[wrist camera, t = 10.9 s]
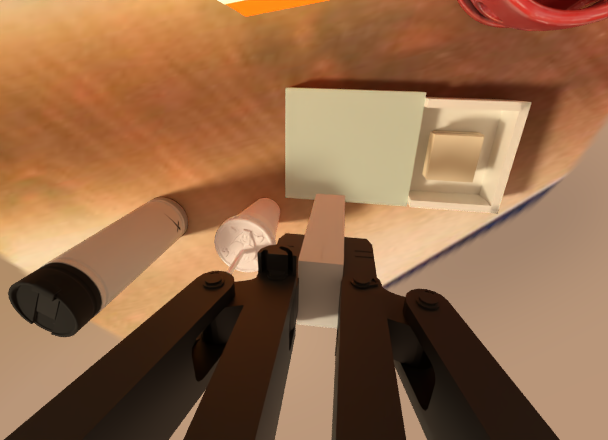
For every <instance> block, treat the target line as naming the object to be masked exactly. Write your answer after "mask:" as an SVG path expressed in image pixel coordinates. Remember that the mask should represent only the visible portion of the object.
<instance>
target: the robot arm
mask: <svg viewBox="0 0 608 440" xmlns="http://www.w3.org/2000/svg"><path fill="white" fill-rule="evenodd" d="M344 226H345V195H330V194H316V196H315V200H314V204H313V207H312V211H311V215H310V218H309V222H308V226H307V229H306V233H305V235H300V234H287V233H286V234H285V235H283V236H282V237H281V238H279V240H278V243H277V245H269V246H265V247H263V248H261V249H260V250H259V251H258V252H257V254H258V275H257V277H256V278H255V279H252V280H247V281H239V282H234V277H233V276H232V275H231V274H230V273H227V272H224V271H212V272H208V273H205V274H202V275H201V276H199V277H198V278H196V279H195V280H194V281H193V282H192V283H190V284H189V285H188V286H187V287H186V288H184V289H183V290H182V291H181V292H180V293H178V294H177V295H176V296H175V297H174V298H172V299H171V300H170V301H169V302H168V303H166V304H165V305H164V306H163V307H162V308H160V309H159V310H158V311H157V312H156V313H155V314H153V315H152V316H151V317H150V318H149V319H147V320H146V321H145V322H144V323H143V324H141V325H140V326H139V327H138V328H137V329H135V330H134V331H133V332H132V333H131V334H129V335H128V336H127V337H126V338H125V339H123V340H122V341H121V342H120V343H119V344H118V345H116V346H115V347H114V348H113V349H112V350H110V351H109V352H108V353H107V354H106V355H104V356H103V357H102V358H101V359H100V360H98V361H97V362H96V363H95V364H94V365H93V366H91V367H90V368H89V369H88V370H86V371H85V372H84V373H83V374H82V375H81V376H79V377H78V378H77V379H76V380H75V381H73V382H72V383H71V384H70V385H69V386H67V387H66V388H65V389H64V390H63V391H62V392H60V393H59V394H58V395H57V396H56V397H54V398H53V399H52V400H51V401H49V402H48V403H47V404H46V405H45V406H43V407H42V408H41V409H40V410H39V411H38V412H36V413H35V414H34V415H33V416H32V417H30V418H29V419H28V420H27V421H26V422H24V423H23V424H22V425H21V426H20V427H18V428H17V429H16V430H15V431H14V432H13V433H11V434H10V435H9V436H8V437H7V438H5V439H4V440H169V438H170V437H171V436H172V434H173V433H174V432H175V430H176V429H177V428H178V426H179V425H180V424H181V422H182V421H183V419H184V418H185V417H186V415H187V414H188V413H189V411H190V410H191V409H192V407H193V406H194V405H195V403H196V402H197V400H198V399H199V398H200V396H201V395H202V394H203V392H204V391H205V393H204V395H203V397H202V400H201V402H200V404H199V406H198V408H197V410H196V413H195V415H194V417H193V420H192V422H191V424H190V426H189V428H188V430H187V433H186V435H185V437H184V439H183V440H275V435H276V429H277V425H278V420H279V414H280V410H281V404H282V399H283V394H284V389H285V384H286V379H287V374H288V369H289V364H290V359H291V354H292V349H293V344H294V339H295V325H296V319H297V324H301V325H310V326H319V327H328V328H337V338H336V349H335V356H336V357H335V379H334V399H333V420H332V422H333V423H332V440H406V436H405V430H404V423H403V416H402V410H401V404H400V397H399V391H398V385H397V379H396V372H395V368H396V370H397V372H398V375H399V377H400V379H401V381H402V383H403V386H404V388H405V390H406V393H407V395H408V397H409V400H410V402H411V404H412V406H413V409H414V411H415V413H416V415H417V418H418V419H419V422H420V424H421V426H422V429H423V431H424V433H425V436H426V438H427V440H559V438H558V437H557V436H556V434H555V433H554V432H553V431H552V430H551V428H550V427H549V426H548V425H547V423H546V422H545V421H544V420H543V419H542V417H541V416H540V415H539V413H538V412H537V411H536V410H535V408H534V407H533V406H532V405H531V403H530V402H529V401H528V400H527V399H526V397H525V396H524V395H523V393H521V391H520V390H519V388H518V387H517V386H516V385H515V384H514V382H513V381H512V380H511V379H510V377H509V376H508V375H507V374H506V372H505V371H504V370H503V369H502V367H501V366H500V365H499V364H498V362H497V361H496V360H495V359H494V357H493V356H492V355H491V354H490V352H489V351H488V350H487V349H486V347H485V346H484V345H483V344H482V343H481V341H480V340H479V339H478V338H477V336H476V335H475V334H474V333H473V331H472V330H471V329H470V328H469V327H468V325H467V324H466V323H465V321H464V320H463V319H462V318H461V316H460V315H459V314H458V313H457V312H456V310H455V309H454V308H453V306H452V305H451V304H450V303H449V302H448V300H446V299H445V298H444V297H443V296H442V295H440V294H438V293H436V292H434V291H431V290H427V289H414V290H411V291H409V292H408V293H407V294H406V297H403V296H400V295H396V294H394V293H391V292H389V291H387V290H386V289H384V288H383V287H382V284H381V282H380V280H379V279H378V278H377V275H376V268H375V262H374V255H373V248H372V244H371V243H370V242H369V241H368V240H367V239H361V238H348V237H344Z"/></svg>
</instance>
